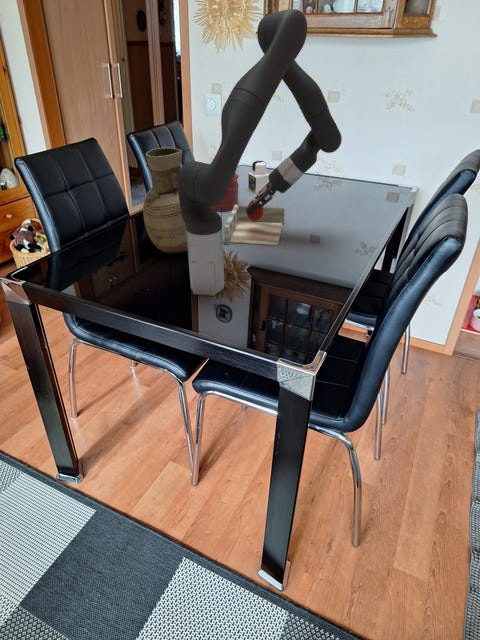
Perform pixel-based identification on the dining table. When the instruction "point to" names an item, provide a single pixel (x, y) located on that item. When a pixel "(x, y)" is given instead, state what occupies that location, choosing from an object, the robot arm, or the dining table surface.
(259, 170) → the medicine bottle
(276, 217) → the tray
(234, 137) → the robot arm
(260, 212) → the pomegranate
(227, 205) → the canister
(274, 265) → the dining table surface
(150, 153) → the ceramic vessel
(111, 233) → the dining table surface
